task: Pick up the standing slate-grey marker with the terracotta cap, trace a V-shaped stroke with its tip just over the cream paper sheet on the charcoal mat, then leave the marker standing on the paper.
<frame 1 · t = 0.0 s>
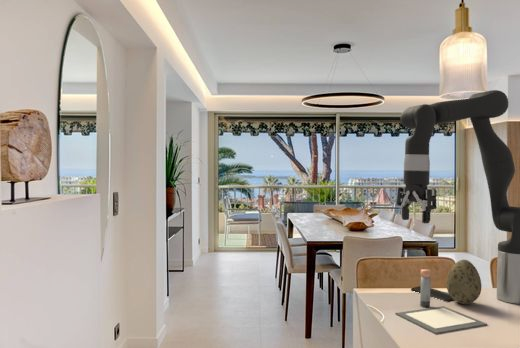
hand: (415, 221, 124), 29 cm above the kitchen island, tool pointing down, fingers open, 8 cm apart
marker: (425, 306, 132), on the kitchen island
writing mat: (439, 319, 120), on the kitchen island
decorative egg: (463, 303, 136), on the kitchen island
phone: (433, 295, 145), on the kitchen island
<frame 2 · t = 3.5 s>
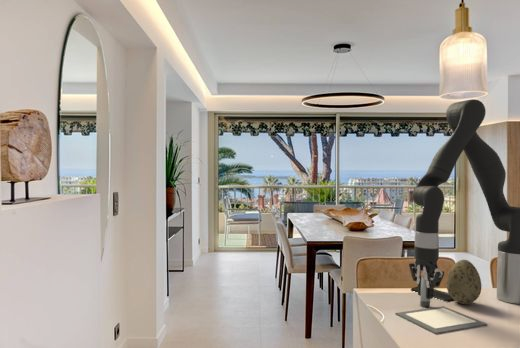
hand: (425, 296, 132), 3 cm above the kitchen island, tool pointing down, fingers closed on marker, 3 cm apart
marker: (425, 306, 132), on the kitchen island, touching gripper
everything else where it was.
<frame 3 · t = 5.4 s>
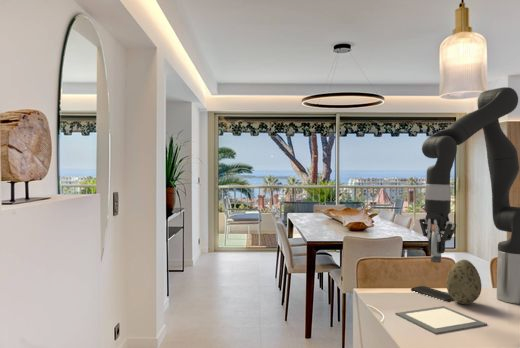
hand: (436, 251, 127), 19 cm above the kitchen island, tool pointing down, fingers closed on marker, 3 cm apart
marker: (435, 261, 127), point 16 cm above the kitchen island, touching gripper
everything else where it was.
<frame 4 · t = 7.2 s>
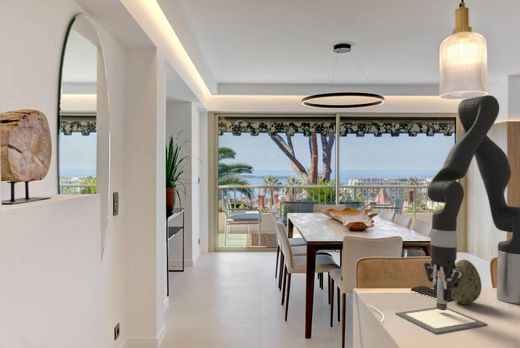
hand: (441, 298, 124), 5 cm above the kitchen island, tool pointing down, fingers closed on marker, 3 cm apart
marker: (441, 308, 124), point 2 cm above the kitchen island, touching gripper
everything else where it was.
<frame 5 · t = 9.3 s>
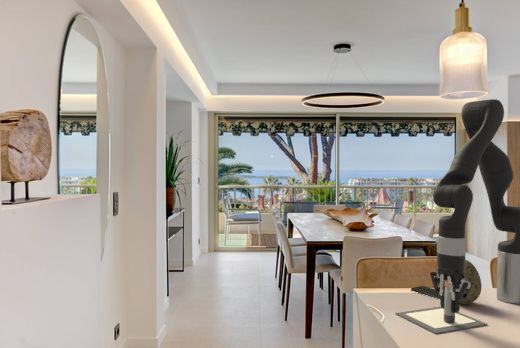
hand: (449, 310, 117), 4 cm above the kitchen island, tool pointing down, fingers closed on marker, 3 cm apart
marker: (449, 320, 117), point 1 cm above the kitchen island, touching gripper
everything else where it was.
when the fingers open (4 cm above the kitchen island, at t = 11.2 s): marker stays where it is, resting on writing mat.
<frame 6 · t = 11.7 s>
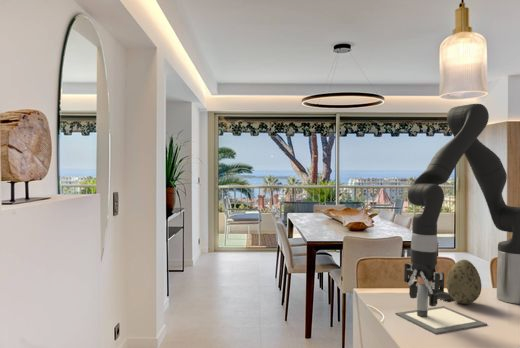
hand: (422, 301, 121), 5 cm above the kitchen island, tool pointing down, fingers open, 7 cm apart
marker: (422, 315, 121), point 1 cm above the kitchen island, touching writing mat
everything else where it was.
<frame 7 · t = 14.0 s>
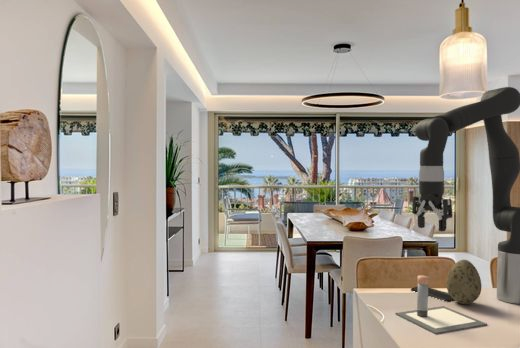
hand: (431, 229, 129), 26 cm above the kitchen island, tool pointing down, fingers open, 8 cm apart
nothing on the kitchen island moved.
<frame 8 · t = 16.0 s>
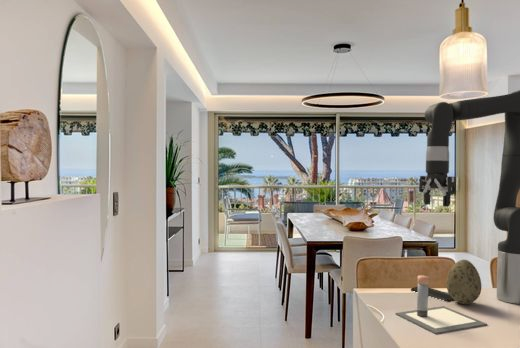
hand: (436, 205, 140), 33 cm above the kitchen island, tool pointing down, fingers open, 8 cm apart
nothing on the kitchen island moved.
at the end: marker inside the target area on the writing mat (5.0 cm from its centre), point 0.6 cm above the writing mat's base; marker tilted 0°; the gripper is holding nothing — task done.
